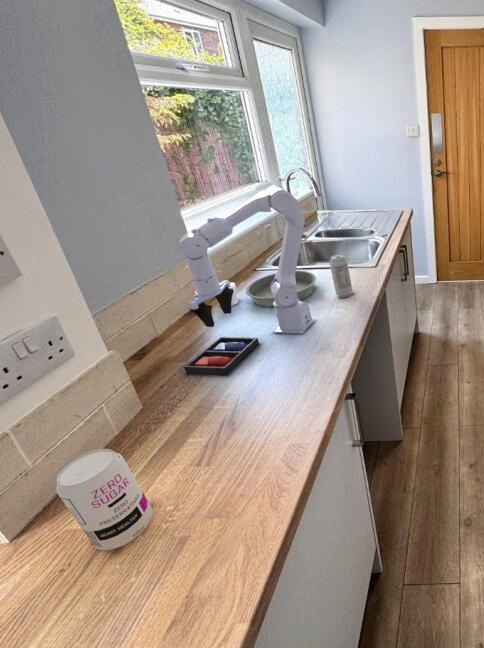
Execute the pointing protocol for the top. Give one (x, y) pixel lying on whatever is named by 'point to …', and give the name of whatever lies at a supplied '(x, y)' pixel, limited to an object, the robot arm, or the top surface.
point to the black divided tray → (233, 355)
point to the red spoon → (213, 361)
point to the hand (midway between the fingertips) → (219, 319)
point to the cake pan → (262, 286)
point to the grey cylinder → (341, 275)
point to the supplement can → (104, 498)
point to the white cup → (234, 294)
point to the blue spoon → (230, 346)
